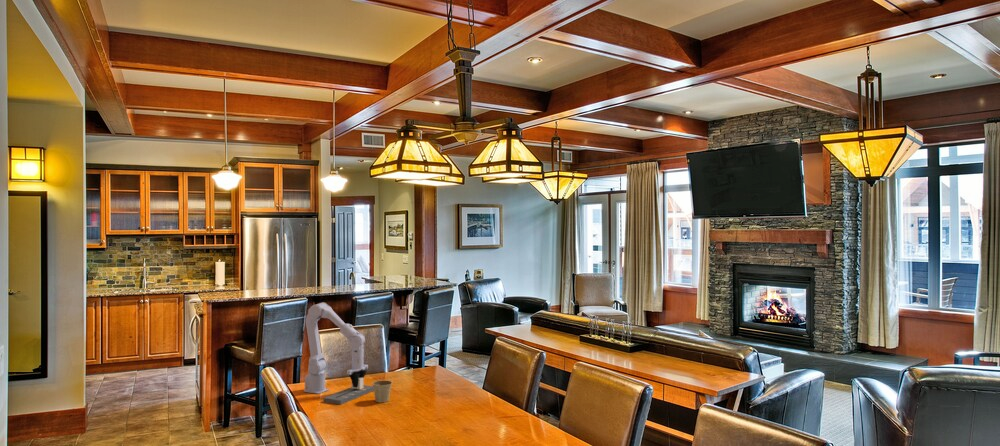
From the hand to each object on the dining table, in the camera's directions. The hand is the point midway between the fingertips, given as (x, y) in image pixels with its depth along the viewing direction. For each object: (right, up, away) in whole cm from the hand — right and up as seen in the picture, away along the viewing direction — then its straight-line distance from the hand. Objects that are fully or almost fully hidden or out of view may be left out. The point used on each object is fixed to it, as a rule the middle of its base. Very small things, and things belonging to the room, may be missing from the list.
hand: (357, 386), depth 285 cm
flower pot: (+15, -4, -13) cm, 20 cm away
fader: (0, -1, 0) cm, 1 cm away
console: (-2, -3, -6) cm, 7 cm away
